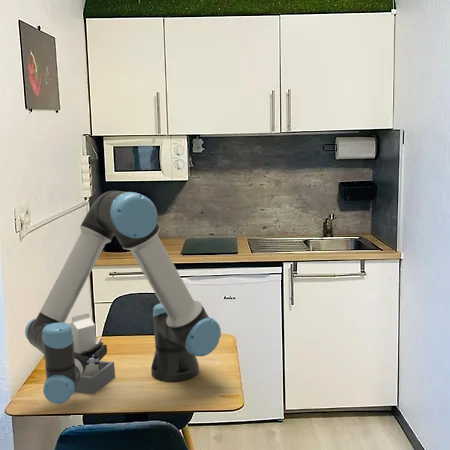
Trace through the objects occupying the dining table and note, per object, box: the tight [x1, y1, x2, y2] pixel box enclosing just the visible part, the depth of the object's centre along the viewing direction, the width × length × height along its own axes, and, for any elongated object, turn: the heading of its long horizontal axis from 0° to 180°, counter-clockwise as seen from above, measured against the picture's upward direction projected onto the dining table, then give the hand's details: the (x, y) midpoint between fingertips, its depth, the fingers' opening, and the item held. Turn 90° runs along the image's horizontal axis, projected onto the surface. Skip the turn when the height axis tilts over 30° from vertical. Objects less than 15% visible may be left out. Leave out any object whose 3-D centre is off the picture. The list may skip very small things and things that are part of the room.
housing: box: [74, 360, 116, 395], centre depth 193 cm, size 13×13×5 cm
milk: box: [68, 312, 99, 376], centre depth 191 cm, size 6×6×22 cm
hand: (85, 341), depth 195 cm, fingers closed on milk, 8 cm apart
